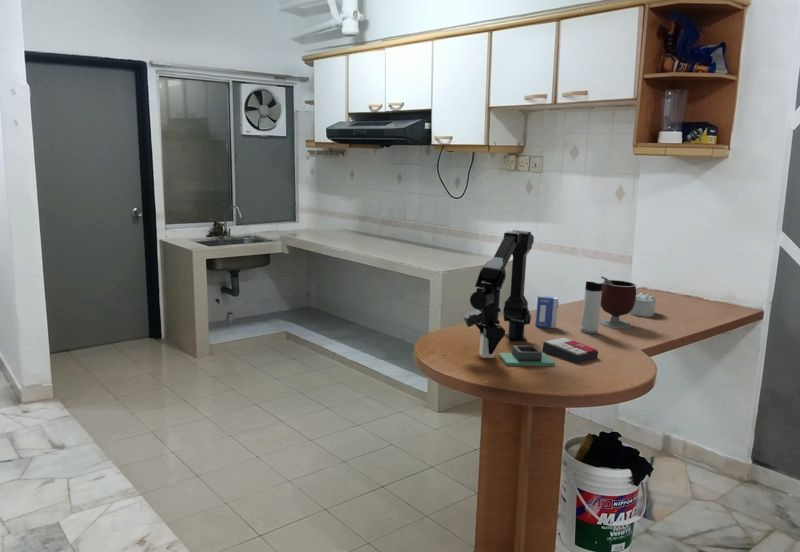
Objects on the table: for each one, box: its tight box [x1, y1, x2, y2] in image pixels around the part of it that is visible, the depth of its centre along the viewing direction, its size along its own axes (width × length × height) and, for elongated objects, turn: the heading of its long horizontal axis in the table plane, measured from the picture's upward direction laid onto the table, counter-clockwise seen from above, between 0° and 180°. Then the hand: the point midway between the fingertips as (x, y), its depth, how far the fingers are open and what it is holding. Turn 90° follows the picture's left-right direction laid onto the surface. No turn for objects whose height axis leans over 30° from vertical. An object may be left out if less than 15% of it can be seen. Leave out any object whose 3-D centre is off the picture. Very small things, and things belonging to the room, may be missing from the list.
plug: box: [478, 332, 496, 359], centre depth 220 cm, size 4×5×8 cm
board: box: [498, 345, 556, 367], centre depth 217 cm, size 10×16×4 cm, turn 96°
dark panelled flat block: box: [541, 337, 599, 364], centre depth 226 cm, size 11×4×15 cm
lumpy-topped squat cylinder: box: [627, 292, 657, 318], centre depth 291 cm, size 10×13×9 cm
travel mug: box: [580, 280, 603, 335], centre depth 254 cm, size 6×7×20 cm
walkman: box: [535, 296, 559, 329], centre depth 260 cm, size 8×3×12 cm, turn 84°
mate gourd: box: [598, 276, 637, 329], centre depth 268 cm, size 16×14×20 cm
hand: (487, 349), depth 220 cm, fingers open, 9 cm apart
